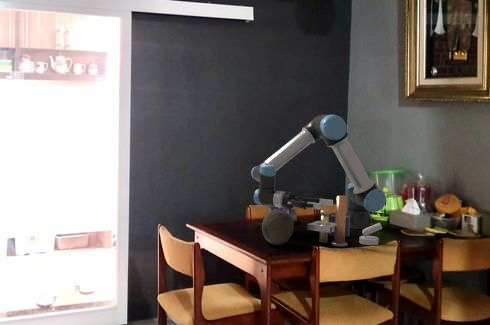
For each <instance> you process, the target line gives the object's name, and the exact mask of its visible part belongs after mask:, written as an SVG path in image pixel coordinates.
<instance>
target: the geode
mask: <svg viewBox="0 0 490 325" xmlns="http://www.w3.org/2000/svg"><path fill="white" fill-rule="evenodd" d="M268 207H269V209H268V212H267V214H268V213H269V212H271V211H283V212H286V213H288V214H289V215H290V216H291V218H292V219H293V222H297V218H298V216H297V211H296V209H295V208H292V209H289V208H282V207H280V209H279V208H278V207H273V206H268Z"/></svg>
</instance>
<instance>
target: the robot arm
mask: <svg viewBox="0 0 490 325" xmlns="http://www.w3.org/2000/svg"><path fill="white" fill-rule="evenodd" d="M347 127H348V126H347V123H346V121H345V120H344V119H343V117H341V116H339V115H336V114H319V115H317V116H316V117H314V118H313V119H311V121H309V122H308V123H307V124H306V125H304V126H303V127H302V129H301V131H300V132H299V133H297V134H296V135H295V136H294V137H293V138H292V139H290V140H289V141H288V142H286V144H284V145H282V147H280V148H279V149H278V150H277V151H275V152H274V153H273V154H272V155H270V156H269V157H268V158H267V159H265V160H264V161H263V162H261V163H260V164H259V165H256V166H254V167H253V168H252V169H251V172H250V174H251V177H252V179H253V180H254V181H256V182H259V188H258V189H256V190H255V191H254V195H253V201H254V203H255V204H256V205H260V206H265V207H266V206H267V207H269V206H273V207H278V208H279V209H280V207H282V208H289V209H294V208H299V209H303V210H305V211H306V210H307V209H310V210H318V211H321V210H322V206H327V207H333V206H334V200H333V199H326V198H322V197H321V196H319V197H303V196H296V195H295V193H294V192H288V191H281V190H279V191H278V190H276V178H277V176H276V174H277V171H278V170H279V169H281V168H283V166H284V165H285V164H287V163H288V162H289V161H291V160H292V159H293V158H294V157H296V156H298V154H300V153H301V151H303V150H304V149H305V148H307V147H308V146H309V145H311V144H315V143H316V142H317V141H320V140H321V139H322V140H323V141H324V143H325V144H326V147H328V148H331V149H332V151H333V152H334V154H335V156H336V158H337V159H338V161H339V163H340V164H341V167H342V168H343V169H344V172H345V173H346V175H347V177H348V179H349V181H350V183H348V186H347V202H346V216H349V217H350V229H355V230H357V229H358V230H364V229H365V228H368V227H370V226H372V225H373V221H372V217H371V216H372V215H371V213H377V212H379V211H382V209H383V208H384V207H385V206H386V203H387V196H386V194H385V192H384V191H383V190H382V189H379V187H378V185H377V183H376V182H375V180H373V179H370V178H369V175H368V174H367V172H366V171H365V168H364V166H363V165H362V163H361V161H360V159H359V158H358V155H357V154H356V152H355V150H354V149H353V147H352V145H351V143H350V141H349V140H348V138H349V133H348V132H347ZM370 212H371V213H370Z"/></svg>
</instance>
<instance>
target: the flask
mask: <svg viewBox="0 0 490 325" xmlns="http://www.w3.org/2000/svg"><path fill="white" fill-rule="evenodd" d="M329 222H330V223H336V213H334V214H330V215H329ZM350 230H351V228H350V217H349V216H346V224H345V238H346V237H350V232H351V231H350ZM328 236H330V237H331V236H332V237H335V232H331V233H328Z"/></svg>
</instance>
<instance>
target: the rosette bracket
mask: <svg viewBox="0 0 490 325" xmlns="http://www.w3.org/2000/svg"><path fill="white" fill-rule="evenodd" d="M347 198H348V195H347V196H346V195H336V204H335V208H336V209H335V214H336V223H330V222H329V223H328V225H327V226H326V225H321V220H316V221H313V222H311V223H307V229H306V230H307V231H313V232H319V233H320V232H327V233H328V234H329V233H331V232H335V236H334V241H331V246H333V247H337V248H338V247H339V248H345V247H348V242H346V240H345V239H346V237H345V224H346V212H347Z"/></svg>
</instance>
